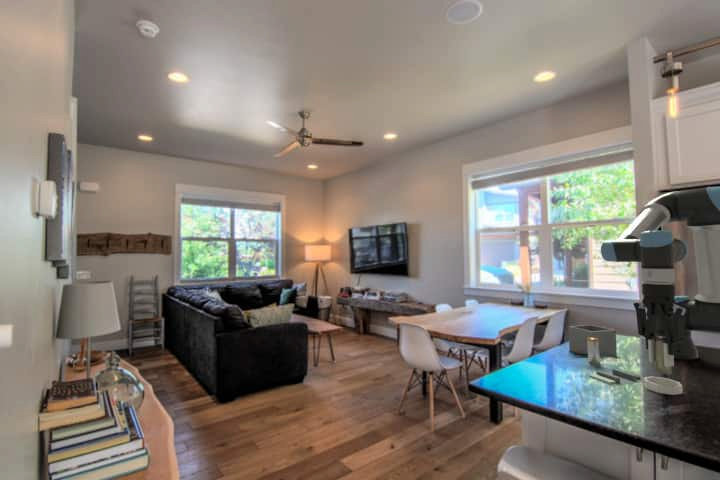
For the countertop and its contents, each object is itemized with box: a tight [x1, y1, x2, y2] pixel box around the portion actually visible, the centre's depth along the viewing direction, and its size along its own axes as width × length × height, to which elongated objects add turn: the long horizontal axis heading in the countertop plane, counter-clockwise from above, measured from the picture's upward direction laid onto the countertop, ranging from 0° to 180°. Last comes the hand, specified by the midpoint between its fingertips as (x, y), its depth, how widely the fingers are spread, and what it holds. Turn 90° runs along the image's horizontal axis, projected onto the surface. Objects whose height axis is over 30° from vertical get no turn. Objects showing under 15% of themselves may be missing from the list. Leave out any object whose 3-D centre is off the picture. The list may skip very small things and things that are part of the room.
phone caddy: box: [568, 324, 618, 357], centre depth 149 cm, size 12×12×10 cm
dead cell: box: [654, 336, 672, 375], centre depth 106 cm, size 4×4×10 cm
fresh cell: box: [587, 337, 601, 365], centre depth 132 cm, size 4×4×10 cm
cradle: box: [585, 368, 644, 387], centre depth 115 cm, size 14×10×3 cm
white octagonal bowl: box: [643, 375, 684, 396], centre depth 105 cm, size 8×8×4 cm
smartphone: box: [574, 351, 588, 357], centre depth 149 cm, size 8×15×1 cm, turn 129°
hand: (661, 363), depth 106 cm, fingers closed on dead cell, 3 cm apart
